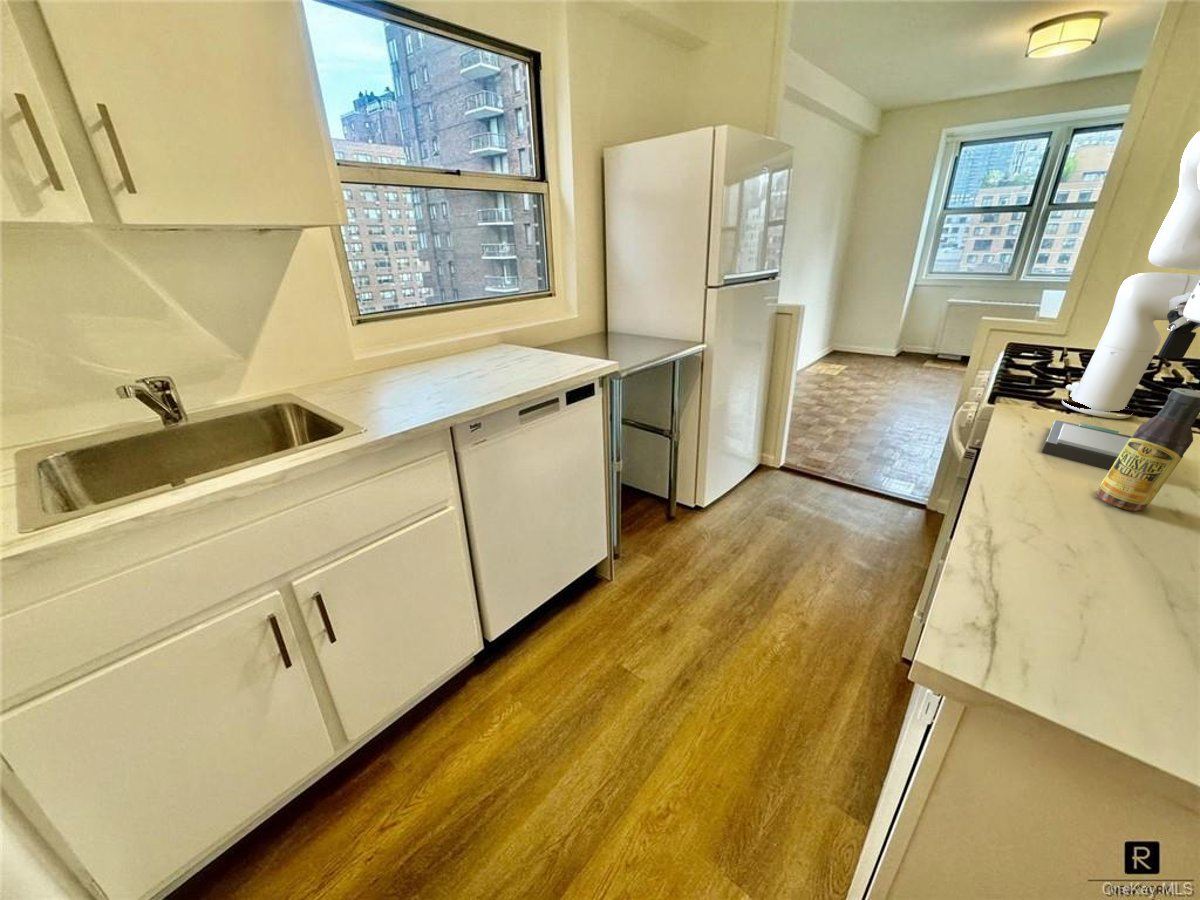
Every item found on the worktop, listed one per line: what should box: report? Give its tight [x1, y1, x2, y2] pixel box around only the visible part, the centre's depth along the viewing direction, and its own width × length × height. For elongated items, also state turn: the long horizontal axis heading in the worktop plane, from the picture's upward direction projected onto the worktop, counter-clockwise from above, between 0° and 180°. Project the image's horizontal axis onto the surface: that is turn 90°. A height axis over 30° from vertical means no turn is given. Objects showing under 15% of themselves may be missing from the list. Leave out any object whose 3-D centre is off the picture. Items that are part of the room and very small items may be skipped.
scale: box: [1041, 419, 1133, 471], centre depth 97 cm, size 16×14×3 cm
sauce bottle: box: [1096, 387, 1200, 512], centre depth 76 cm, size 6×6×20 cm
